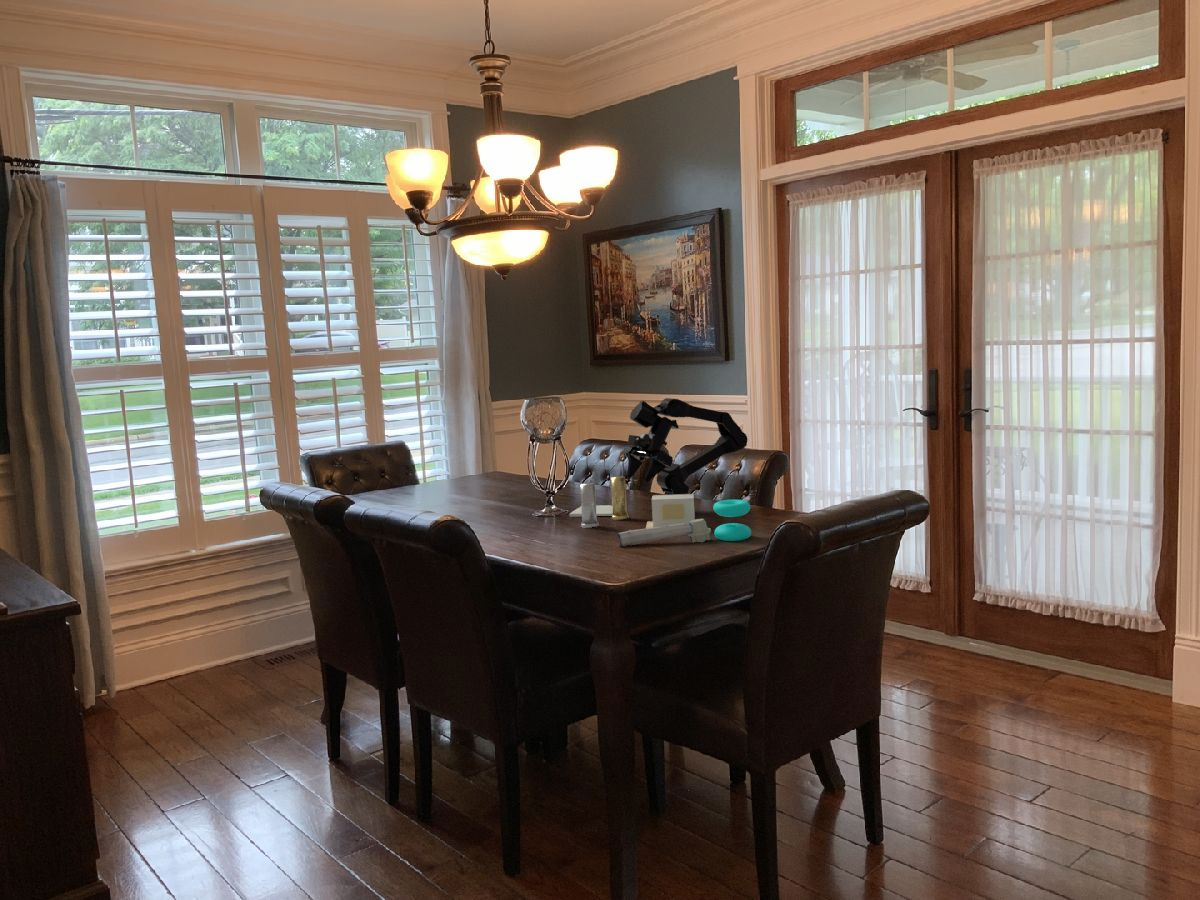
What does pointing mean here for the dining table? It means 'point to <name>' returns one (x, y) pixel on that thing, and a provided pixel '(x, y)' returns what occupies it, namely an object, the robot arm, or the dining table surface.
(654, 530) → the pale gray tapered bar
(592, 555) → the dining table surface
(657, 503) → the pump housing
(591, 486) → the cylinder
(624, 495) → the cylinder
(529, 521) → the dining table surface
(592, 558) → the dining table surface
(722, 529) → the donuts
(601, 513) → the plate
